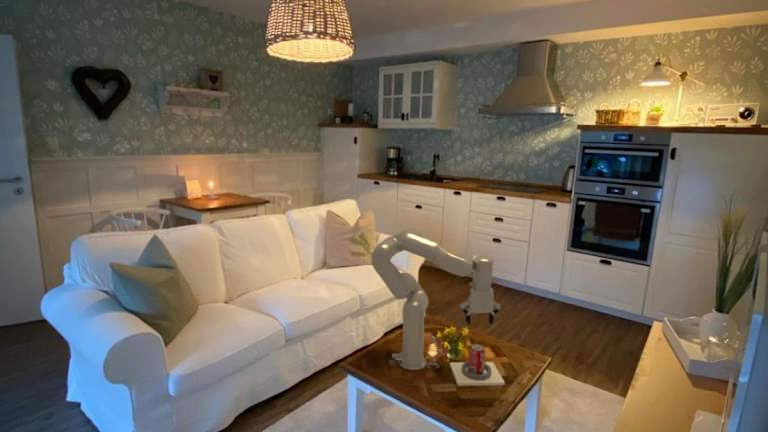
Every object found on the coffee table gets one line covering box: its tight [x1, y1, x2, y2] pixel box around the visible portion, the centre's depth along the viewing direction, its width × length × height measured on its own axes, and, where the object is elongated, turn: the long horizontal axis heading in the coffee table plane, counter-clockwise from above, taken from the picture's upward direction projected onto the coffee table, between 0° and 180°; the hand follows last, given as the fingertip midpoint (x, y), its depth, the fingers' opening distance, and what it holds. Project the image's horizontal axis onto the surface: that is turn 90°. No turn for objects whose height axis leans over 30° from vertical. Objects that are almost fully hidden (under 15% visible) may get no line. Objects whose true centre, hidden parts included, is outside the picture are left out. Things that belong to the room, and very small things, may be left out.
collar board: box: [449, 360, 505, 387], centre depth 178 cm, size 20×16×3 cm
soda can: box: [467, 343, 486, 375], centre depth 177 cm, size 7×7×12 cm
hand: (479, 323), depth 174 cm, fingers open, 9 cm apart
